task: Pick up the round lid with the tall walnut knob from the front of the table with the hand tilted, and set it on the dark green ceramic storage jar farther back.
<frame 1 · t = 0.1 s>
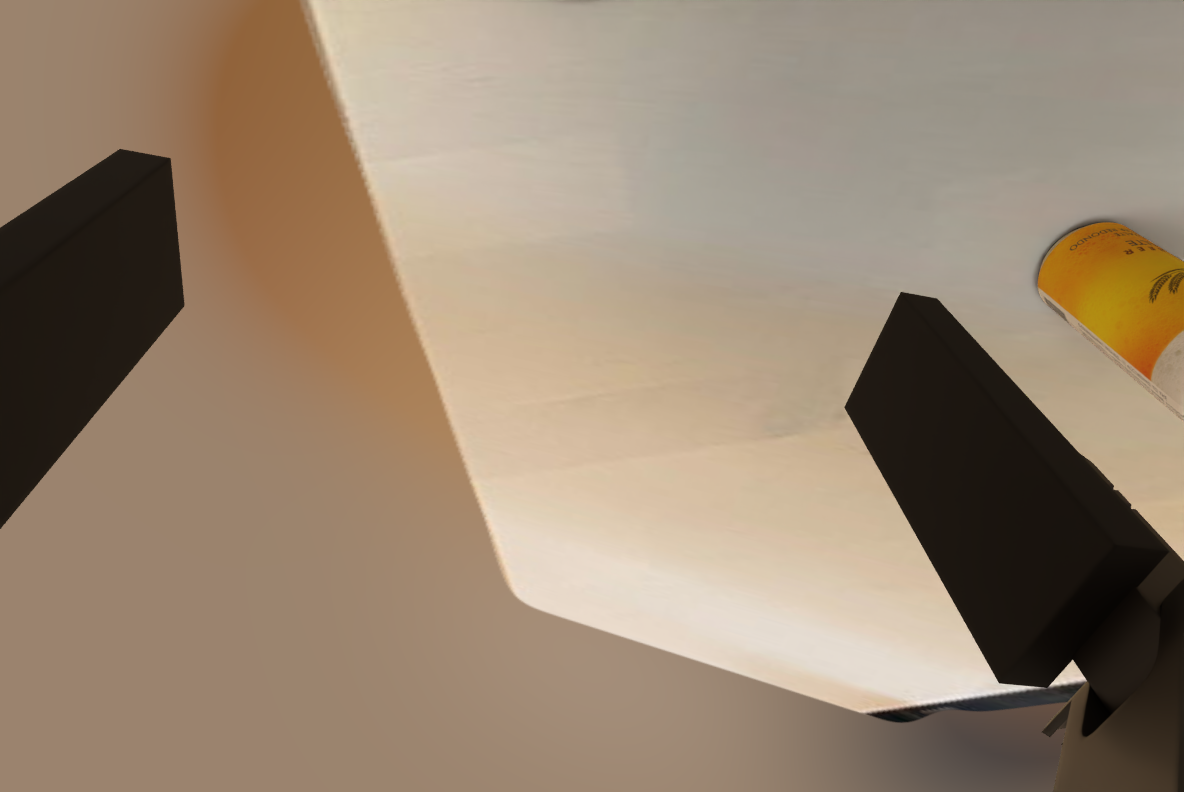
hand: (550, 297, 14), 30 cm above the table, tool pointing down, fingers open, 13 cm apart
beer can: (1078, 261, 48), on the table
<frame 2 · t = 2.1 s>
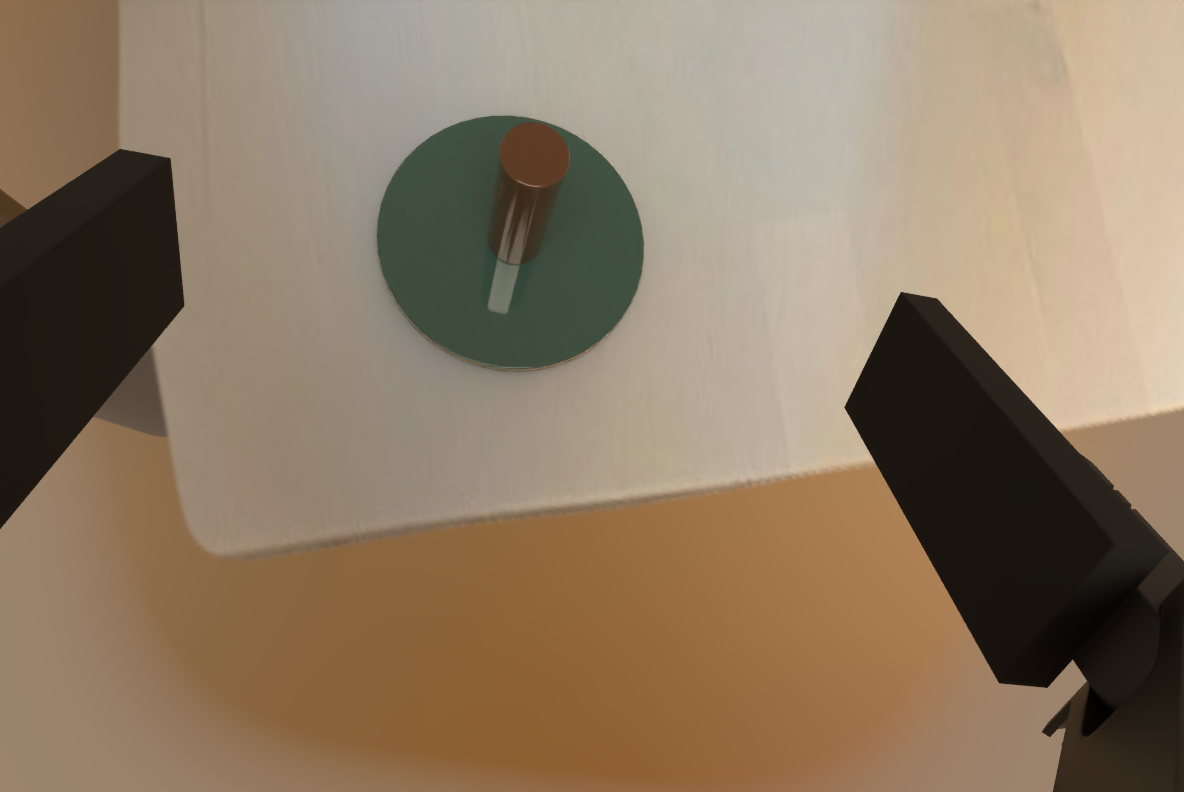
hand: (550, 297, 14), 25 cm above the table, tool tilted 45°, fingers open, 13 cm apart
jar lid: (513, 242, 39), point 1 cm above the table
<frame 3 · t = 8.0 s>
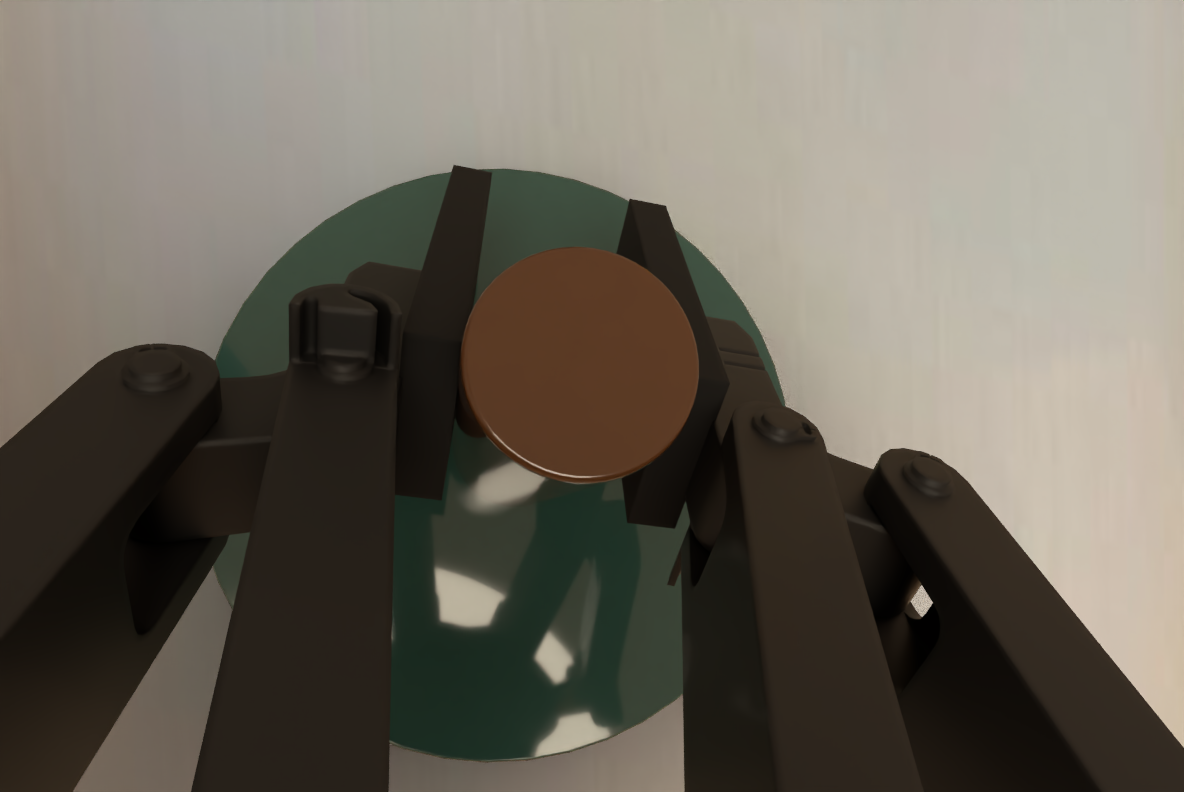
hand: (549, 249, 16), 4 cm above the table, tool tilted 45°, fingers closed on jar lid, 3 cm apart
jar lid: (512, 448, 18), point 1 cm above the table, touching gripper
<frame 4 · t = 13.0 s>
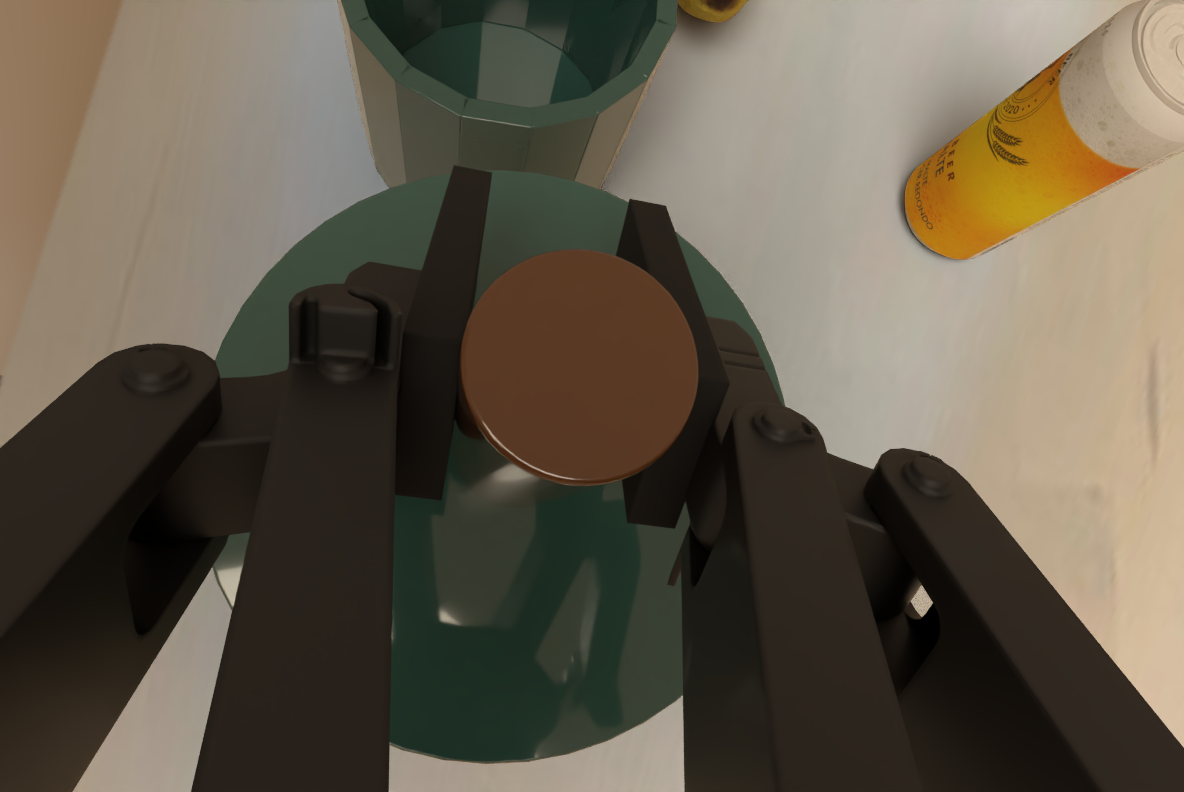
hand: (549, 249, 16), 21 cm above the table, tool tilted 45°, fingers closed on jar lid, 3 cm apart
beer can: (942, 214, 43), on the table
jar lid: (512, 449, 18), point 18 cm above the table, touching gripper
storage jar: (493, 126, 39), on the table
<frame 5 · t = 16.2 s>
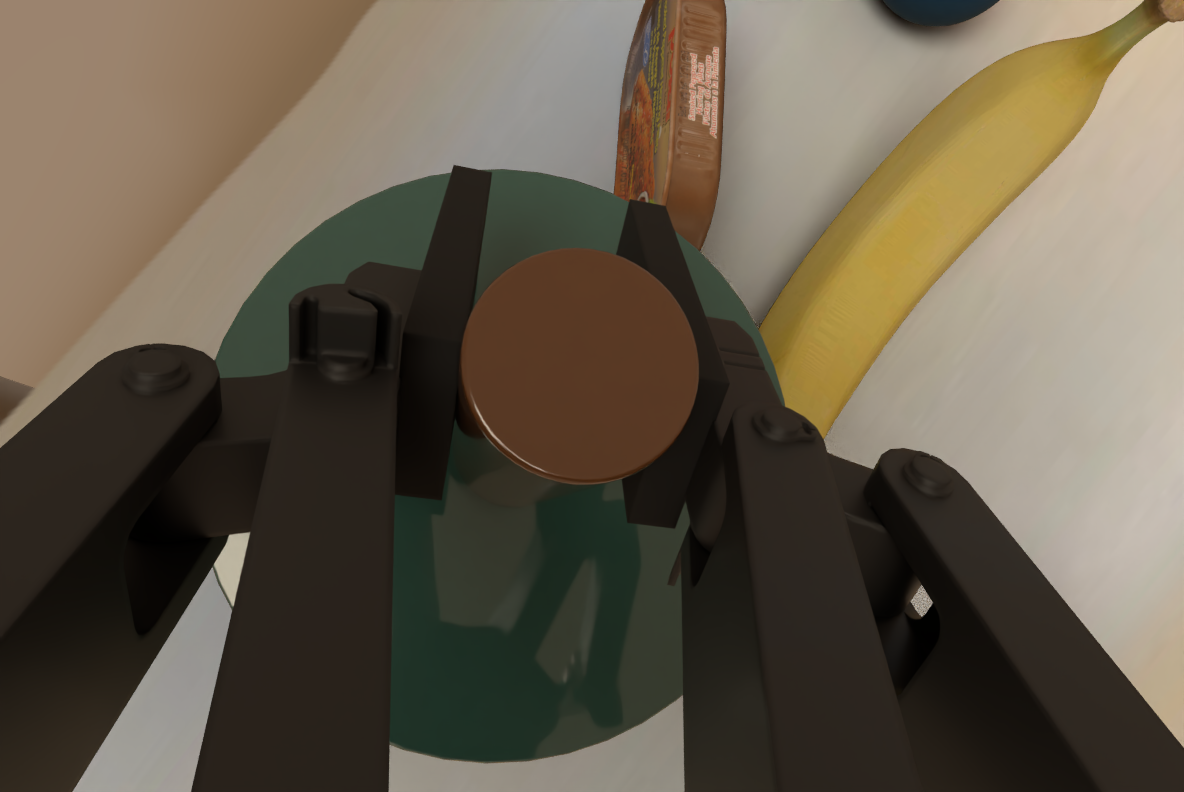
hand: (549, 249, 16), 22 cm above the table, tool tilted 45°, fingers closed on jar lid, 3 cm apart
jar lid: (512, 448, 18), point 19 cm above the table, touching gripper
tin: (643, 173, 41), on the table
banana: (806, 329, 41), on the table
when the fingers open (14 cm above the table, at t = 18.4 s): jar lid stays where it is, resting on storage jar.
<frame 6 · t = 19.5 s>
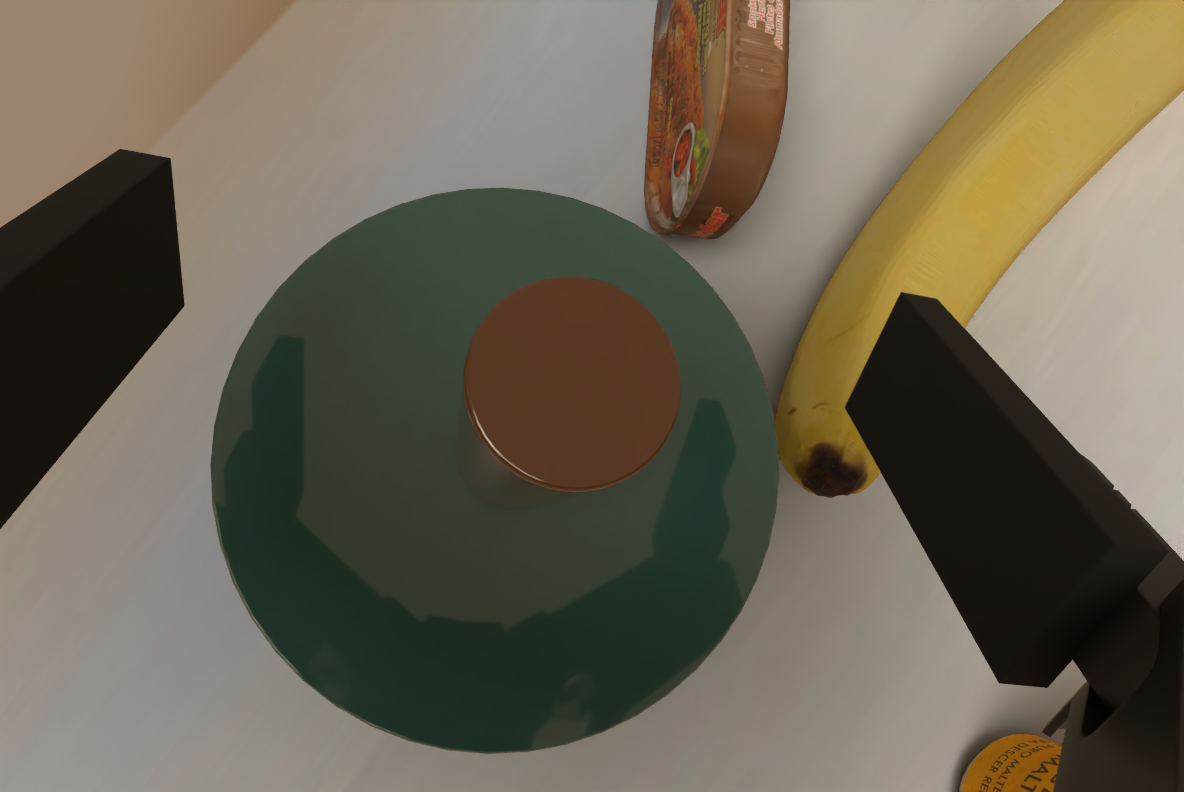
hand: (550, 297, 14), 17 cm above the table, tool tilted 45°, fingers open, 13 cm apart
jar lid: (512, 454, 19), point 11 cm above the table, touching storage jar
tin: (680, 113, 35), on the table
banana: (873, 296, 35), on the table
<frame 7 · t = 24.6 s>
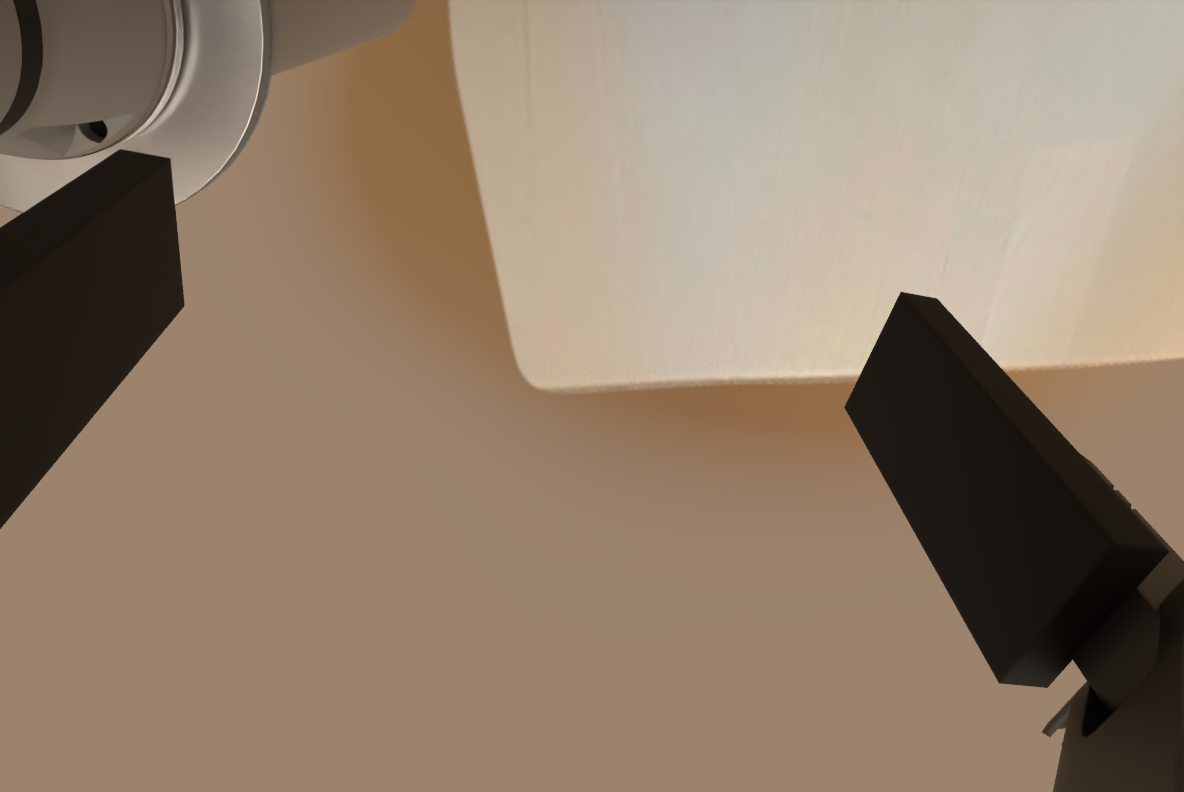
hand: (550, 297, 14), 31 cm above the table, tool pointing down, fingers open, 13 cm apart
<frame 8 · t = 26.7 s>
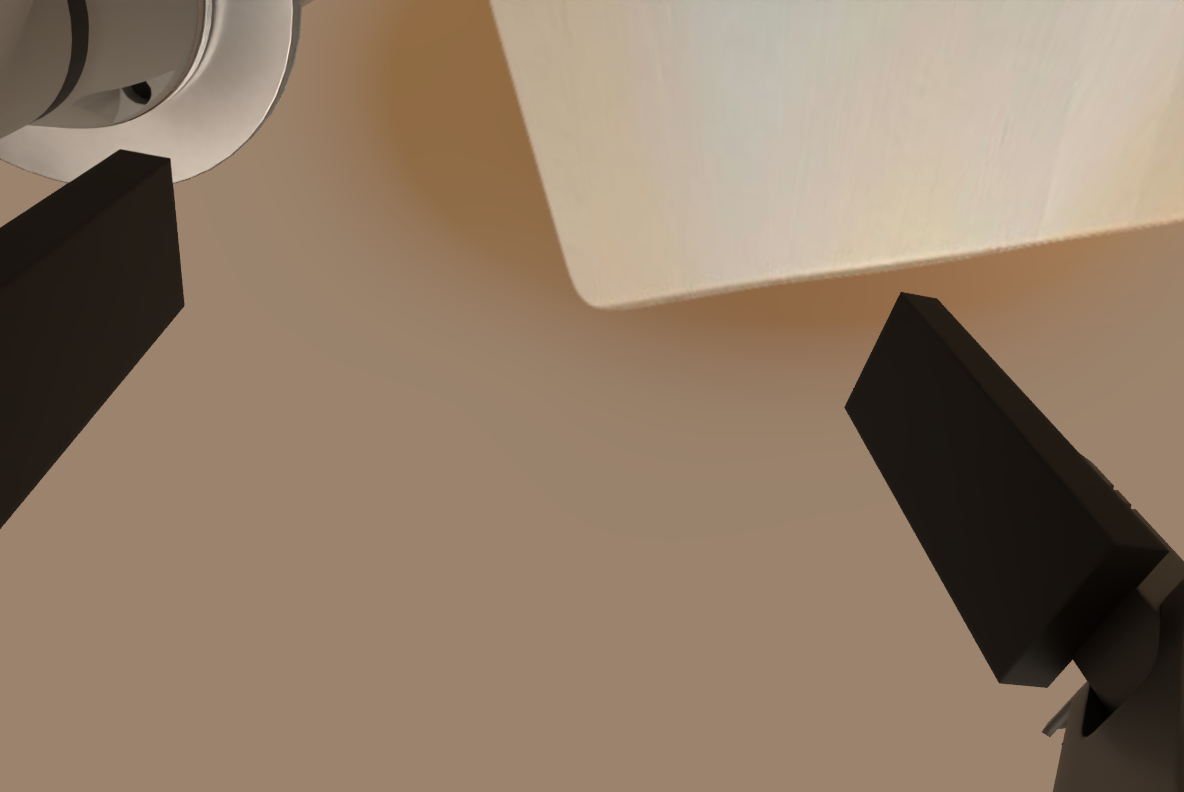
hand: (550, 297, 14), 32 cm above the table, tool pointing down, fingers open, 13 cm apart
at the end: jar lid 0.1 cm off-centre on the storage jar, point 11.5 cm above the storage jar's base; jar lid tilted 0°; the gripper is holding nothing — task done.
